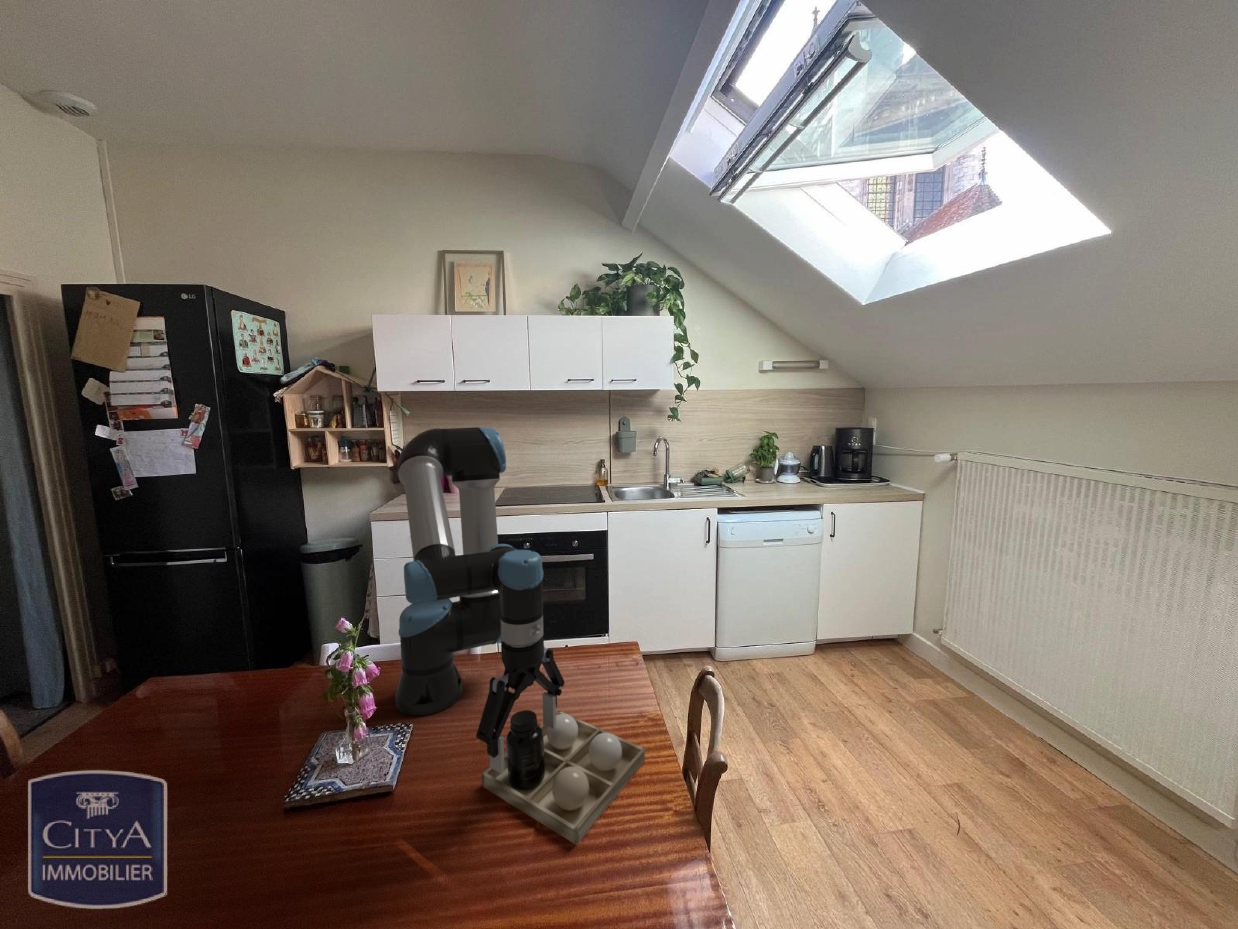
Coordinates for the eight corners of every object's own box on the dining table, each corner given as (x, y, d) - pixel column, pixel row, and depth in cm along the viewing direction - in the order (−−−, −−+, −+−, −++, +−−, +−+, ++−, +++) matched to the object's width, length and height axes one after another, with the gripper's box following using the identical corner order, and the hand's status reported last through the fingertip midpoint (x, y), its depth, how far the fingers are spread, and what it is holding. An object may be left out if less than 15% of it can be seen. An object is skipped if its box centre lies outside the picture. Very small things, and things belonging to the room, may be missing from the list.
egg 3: (582, 770, 93) (581, 739, 92) (601, 750, 98) (601, 721, 97) (609, 785, 90) (609, 753, 89) (628, 763, 95) (628, 733, 94)
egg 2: (544, 809, 84) (544, 775, 83) (568, 785, 90) (567, 753, 89) (573, 827, 81) (573, 791, 80) (596, 800, 86) (596, 767, 85)
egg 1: (540, 749, 99) (539, 719, 98) (560, 731, 104) (560, 703, 103) (564, 761, 95) (564, 731, 94) (584, 742, 101) (584, 714, 100)
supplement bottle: (549, 765, 94) (547, 707, 93) (539, 793, 87) (536, 731, 86) (515, 763, 95) (512, 705, 94) (502, 790, 88) (499, 728, 87)
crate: (482, 791, 89) (481, 773, 89) (559, 725, 107) (559, 710, 107) (576, 850, 78) (576, 831, 77) (645, 765, 96) (645, 749, 95)
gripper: (482, 677, 75) (487, 801, 78) (581, 617, 96) (582, 716, 98) (450, 663, 79) (456, 781, 82) (552, 608, 100) (553, 704, 103)
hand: (525, 746), depth 90 cm, fingers open, 13 cm apart
